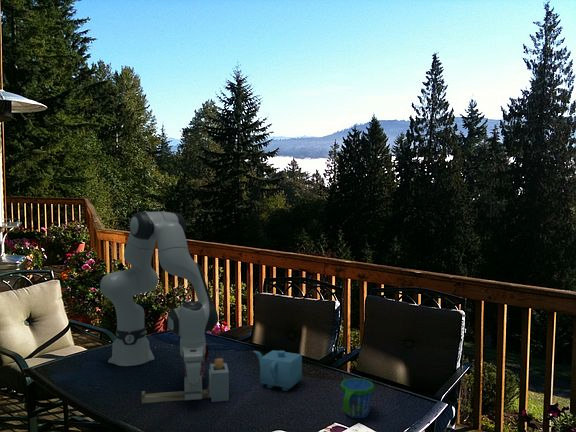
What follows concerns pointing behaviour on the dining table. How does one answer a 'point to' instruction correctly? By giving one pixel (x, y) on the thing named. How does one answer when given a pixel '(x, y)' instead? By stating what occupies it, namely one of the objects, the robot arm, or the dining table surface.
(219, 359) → the plunger
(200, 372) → the mug
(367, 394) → the snack cup
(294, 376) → the teapot
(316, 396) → the dining table surface
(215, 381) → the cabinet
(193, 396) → the carriage
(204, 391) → the rail
